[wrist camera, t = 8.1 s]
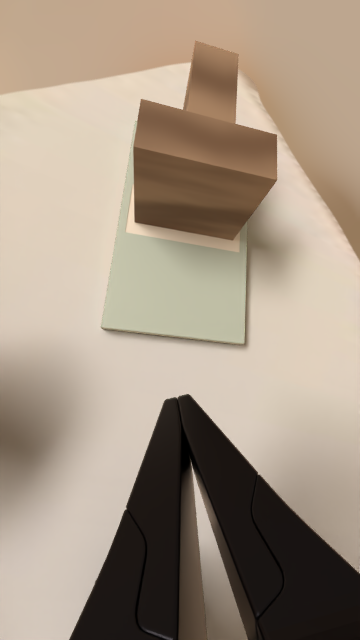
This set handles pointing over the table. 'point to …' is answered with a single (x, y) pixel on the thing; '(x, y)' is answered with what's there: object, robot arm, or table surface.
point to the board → (174, 279)
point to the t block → (201, 155)
